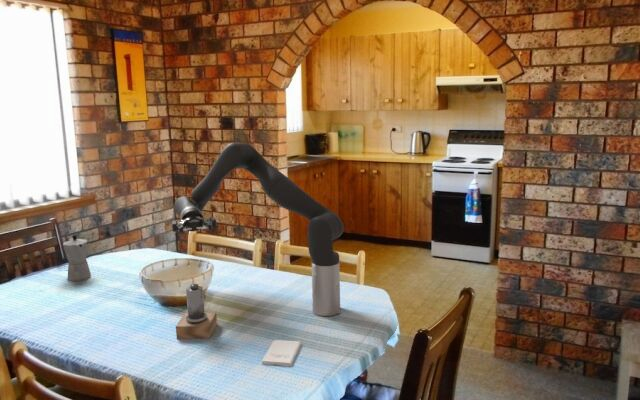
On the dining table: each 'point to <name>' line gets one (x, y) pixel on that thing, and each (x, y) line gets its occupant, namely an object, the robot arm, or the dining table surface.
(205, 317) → the cylinder
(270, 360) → the external hard drive
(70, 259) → the coffeepot
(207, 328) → the stand
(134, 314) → the dining table surface
